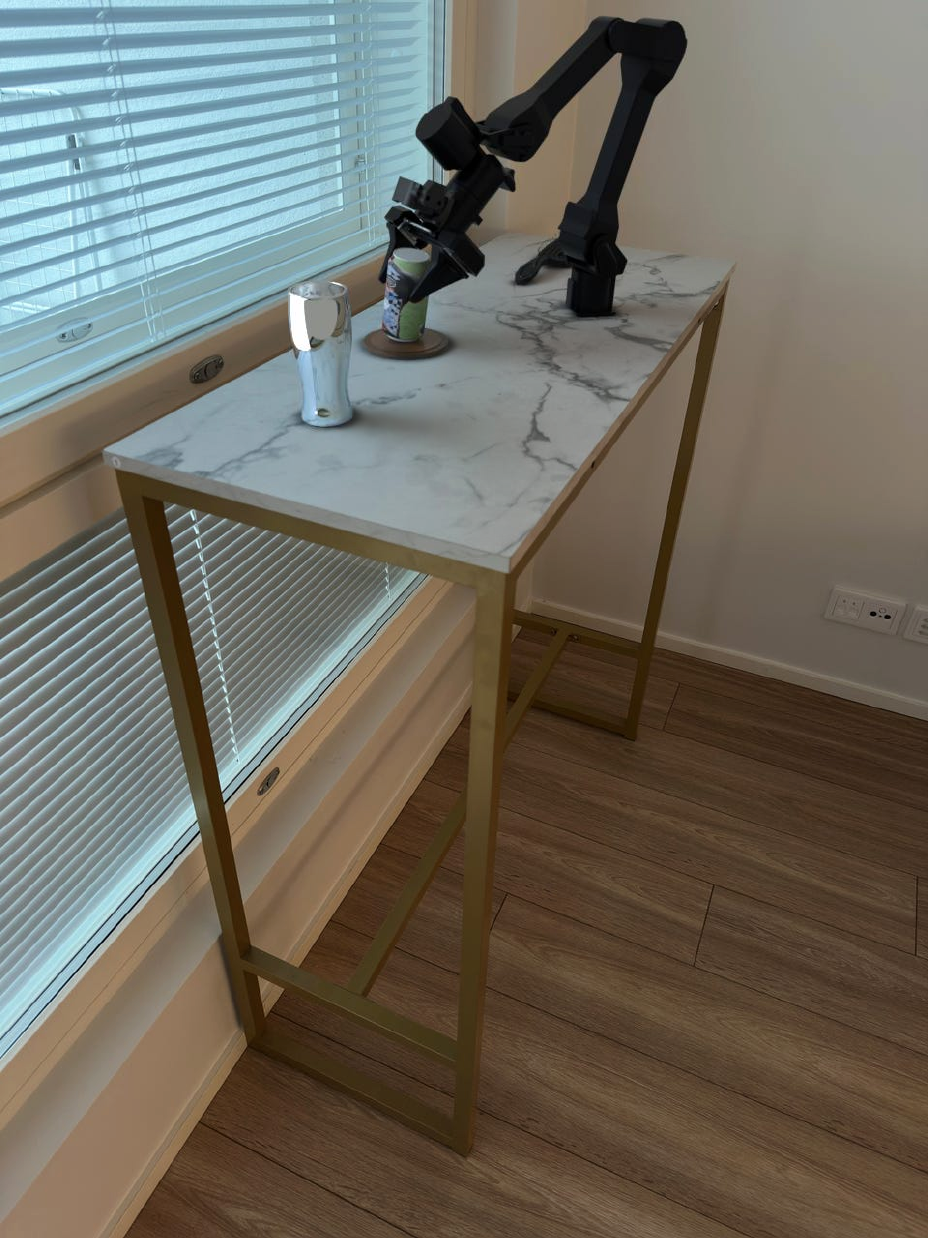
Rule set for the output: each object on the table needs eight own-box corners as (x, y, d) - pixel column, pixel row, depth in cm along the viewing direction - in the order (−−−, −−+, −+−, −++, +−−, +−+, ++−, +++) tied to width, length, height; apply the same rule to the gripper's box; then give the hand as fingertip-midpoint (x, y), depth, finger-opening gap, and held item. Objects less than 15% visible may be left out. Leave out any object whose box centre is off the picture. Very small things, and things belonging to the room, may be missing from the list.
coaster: (439, 328, 135) (440, 323, 134) (455, 357, 125) (455, 352, 125) (359, 331, 133) (359, 327, 132) (368, 361, 123) (368, 356, 123)
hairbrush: (497, 263, 153) (556, 224, 170) (496, 285, 155) (555, 245, 172) (542, 271, 150) (598, 231, 167) (541, 293, 152) (596, 251, 169)
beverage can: (392, 328, 132) (390, 241, 125) (439, 335, 130) (439, 247, 123) (374, 342, 127) (370, 253, 120) (422, 349, 125) (422, 259, 118)
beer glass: (365, 409, 110) (359, 283, 102) (341, 432, 105) (332, 301, 96) (314, 401, 112) (303, 276, 103) (287, 423, 107) (274, 294, 98)
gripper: (395, 140, 122) (326, 235, 124) (467, 164, 110) (389, 270, 112) (444, 197, 131) (379, 286, 132) (517, 226, 118) (444, 323, 120)
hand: (395, 290), depth 124 cm, fingers open, 9 cm apart
